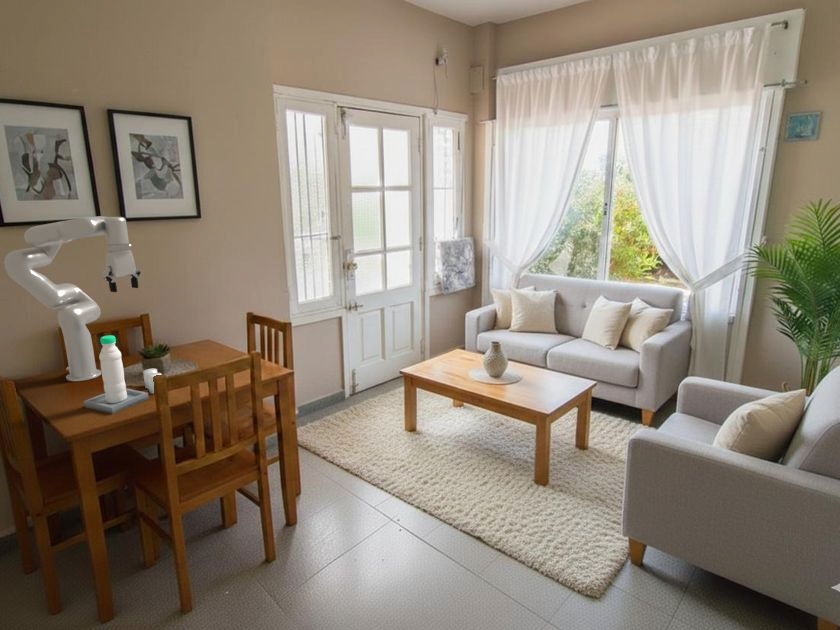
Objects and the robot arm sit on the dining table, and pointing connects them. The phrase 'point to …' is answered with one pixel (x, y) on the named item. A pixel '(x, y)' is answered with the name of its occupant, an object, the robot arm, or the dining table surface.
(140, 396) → the tray
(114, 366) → the water bottle
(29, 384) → the dining table surface
